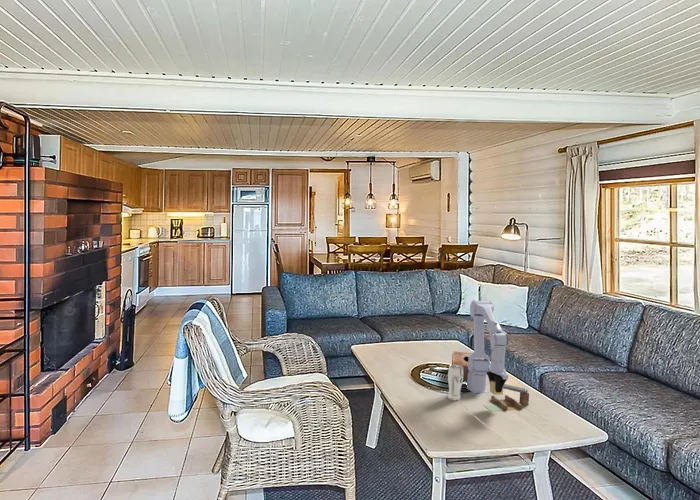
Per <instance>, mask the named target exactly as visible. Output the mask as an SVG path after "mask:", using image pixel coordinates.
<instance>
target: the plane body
mask: <svg viewBox="0 0 700 500" xmlns="http://www.w3.org/2000/svg"><path fill="white" fill-rule="evenodd" d="M529 400H530V393H529V392H528V393H521V392H519V402H518V401H517V400H515V399H514V398H513V397H511V396H509V395H508V394H505V395H504V399H502V398H501V399H499V398H498V397H496V396H494V395H491V397H490V401H491V402H492V403H493V404H494V405H497V406H498V407H499V408H501V409H502V410H503V411H522V410H523V406H529V402H530V401H529Z"/></svg>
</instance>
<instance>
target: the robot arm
mask: <svg viewBox="0 0 700 500" xmlns="http://www.w3.org/2000/svg"><path fill="white" fill-rule="evenodd" d="M494 309H495V306H494V302H493V301H492V300H472V301H470V305H469V311H470V313H469V315H470V317H471V318H472V319H473V344H474V345H473V352H471V353H472V354H471V355H470V356H469V357H468V370H469V373H468V376H467V385H466V386H468V387H467V388H466V389H467V390H468V391H470V392H472V393H473V394H488V393H489V392H490V391H488V390H487V389H486V386H487V385H486V383H487V378H488V381H489V383H490V382H491V380H495V384H496V392H497V393H499V392H501V391H502V388H503V386H504V384H506V382H507V381H508V380H509V374H507V370H506V369H505V362H506V361H505V360H506V350H507V349H506V347H507V346H508V344H509V336H508V332H505V331H504V330H503V329H502V327H501V324H500V323H499V321H497V320H495V316H494ZM485 321H486V329H487V331H488V333H489V336H490V337H489V341H490V349H491V356H489V355H487V354H486V352H485ZM476 358H480V359H476Z"/></svg>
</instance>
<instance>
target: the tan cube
mask: <svg viewBox="0 0 700 500" xmlns="http://www.w3.org/2000/svg"><path fill="white" fill-rule="evenodd" d="M489 392H490V393H491V394H493V396H494V395H496V396H497V395H503V394H504V389H503V388H502V391H501V392H499V393H497V392H496V384H495V380H491V382H489Z"/></svg>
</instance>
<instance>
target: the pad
mask: <svg viewBox="0 0 700 500" xmlns="http://www.w3.org/2000/svg"><path fill="white" fill-rule="evenodd" d="M484 407H485V408H486V409H487V410H489V411H490V412H503V411H504V410H503V409H501V408H500V407H499V406H497V405H496V404H492V405H491V404H490V405H489V404H488V405H484Z"/></svg>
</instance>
